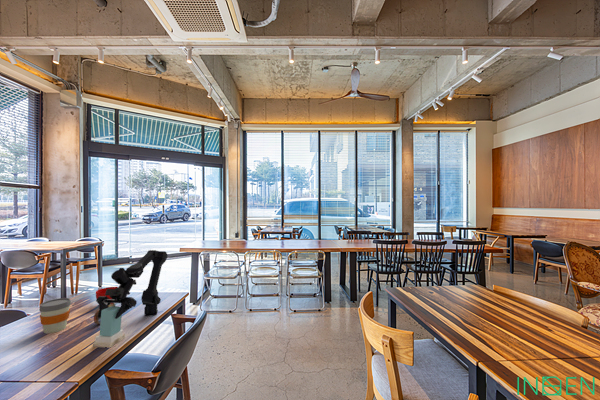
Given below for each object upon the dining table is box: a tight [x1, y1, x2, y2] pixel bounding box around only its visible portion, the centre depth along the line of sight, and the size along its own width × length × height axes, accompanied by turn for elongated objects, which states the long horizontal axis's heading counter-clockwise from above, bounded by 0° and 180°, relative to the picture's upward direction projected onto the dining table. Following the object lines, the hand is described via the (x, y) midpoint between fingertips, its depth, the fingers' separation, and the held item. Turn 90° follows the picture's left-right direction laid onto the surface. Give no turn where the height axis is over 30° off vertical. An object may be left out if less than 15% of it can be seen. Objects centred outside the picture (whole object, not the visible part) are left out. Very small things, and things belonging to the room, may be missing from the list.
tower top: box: [94, 329, 124, 343], centre depth 127 cm, size 8×8×2 cm
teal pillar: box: [99, 305, 123, 336], centre depth 128 cm, size 6×6×12 cm
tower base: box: [92, 334, 125, 349], centre depth 127 cm, size 9×9×2 cm
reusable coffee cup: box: [38, 297, 72, 334], centre depth 140 cm, size 13×13×15 cm
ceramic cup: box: [95, 286, 119, 304], centre depth 175 cm, size 13×17×10 cm
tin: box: [93, 303, 116, 325], centre depth 150 cm, size 15×3×8 cm, turn 2°
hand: (106, 318), depth 126 cm, fingers open, 9 cm apart
